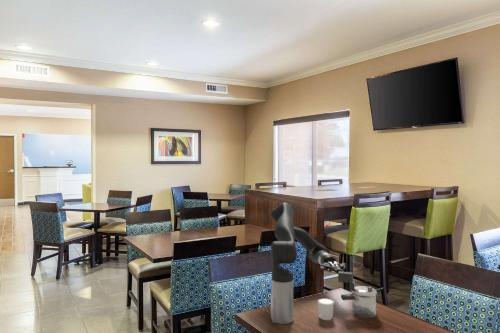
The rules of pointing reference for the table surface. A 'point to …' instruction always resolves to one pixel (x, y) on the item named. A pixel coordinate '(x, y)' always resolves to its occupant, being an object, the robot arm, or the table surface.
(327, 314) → the white cylinder
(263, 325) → the table surface
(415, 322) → the table surface
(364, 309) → the pot
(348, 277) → the lid
